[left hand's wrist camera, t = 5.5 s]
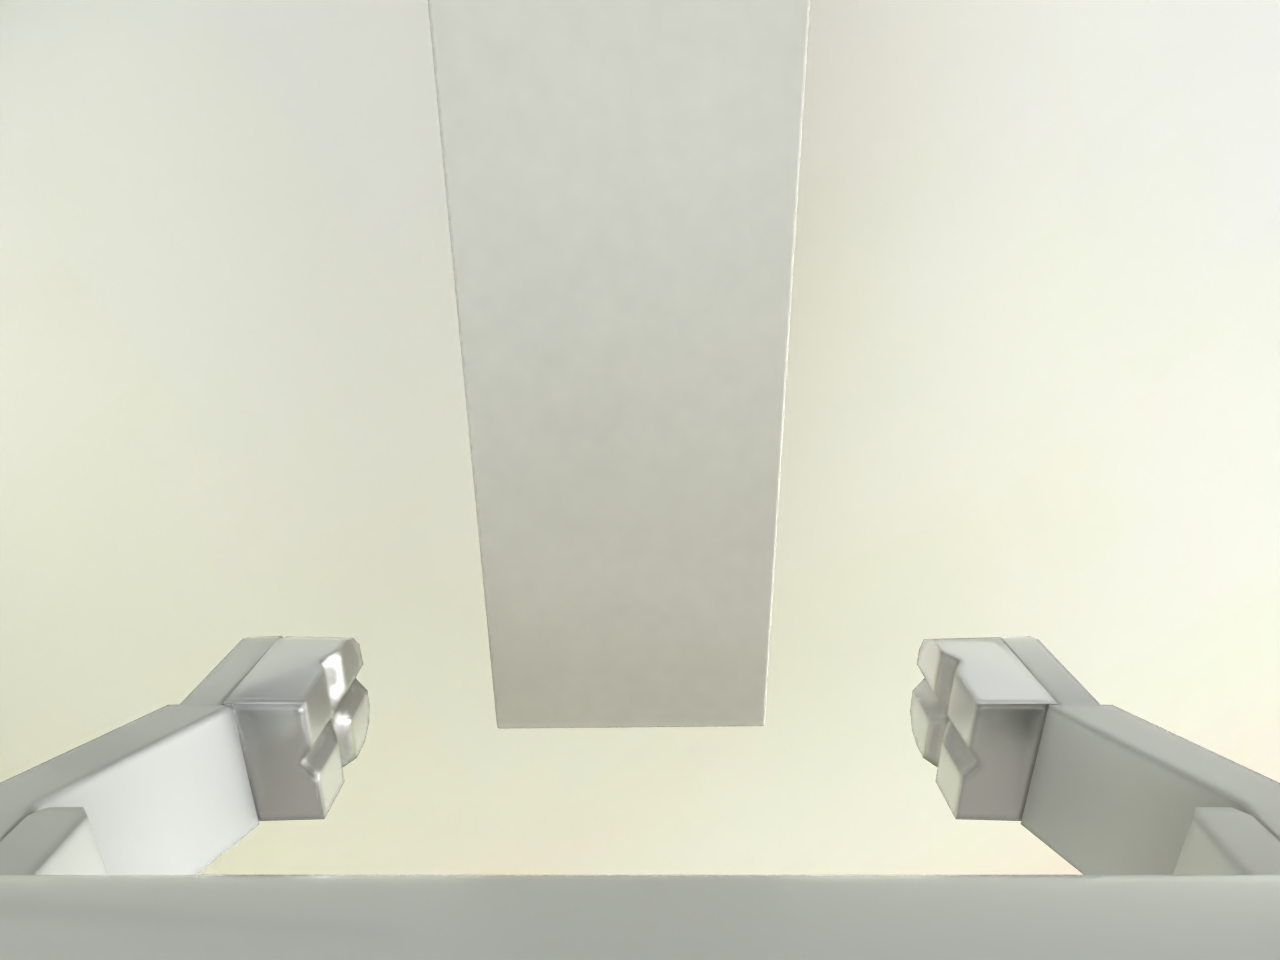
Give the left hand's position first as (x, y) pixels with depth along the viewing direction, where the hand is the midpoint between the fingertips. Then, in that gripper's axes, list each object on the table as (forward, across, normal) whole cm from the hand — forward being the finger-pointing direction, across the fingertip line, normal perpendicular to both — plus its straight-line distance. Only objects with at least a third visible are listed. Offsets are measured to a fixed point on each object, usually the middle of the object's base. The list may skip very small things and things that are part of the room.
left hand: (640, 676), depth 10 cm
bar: (+10, 0, +11) cm, 15 cm away
